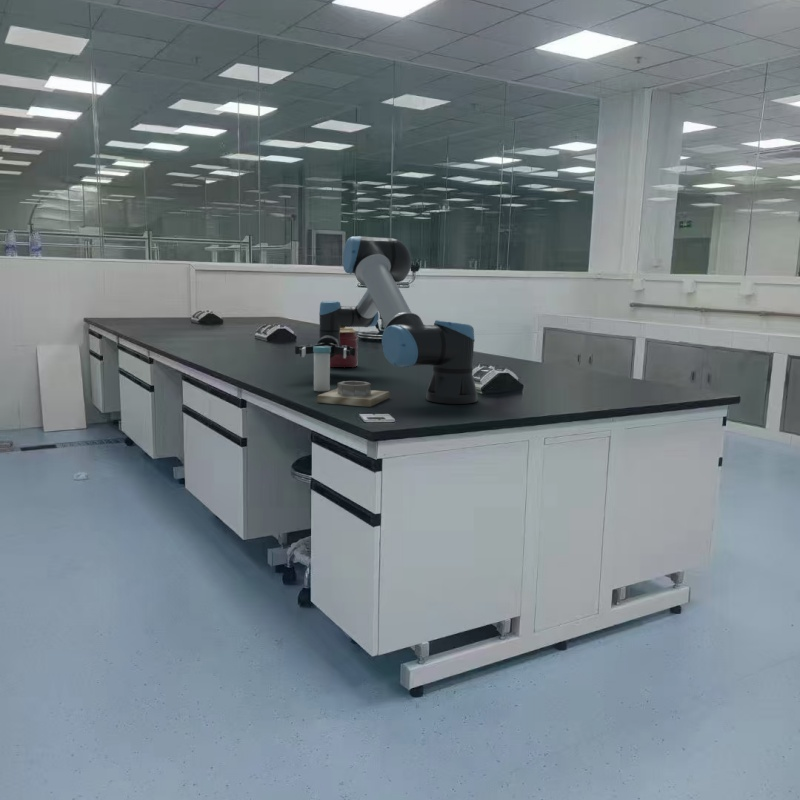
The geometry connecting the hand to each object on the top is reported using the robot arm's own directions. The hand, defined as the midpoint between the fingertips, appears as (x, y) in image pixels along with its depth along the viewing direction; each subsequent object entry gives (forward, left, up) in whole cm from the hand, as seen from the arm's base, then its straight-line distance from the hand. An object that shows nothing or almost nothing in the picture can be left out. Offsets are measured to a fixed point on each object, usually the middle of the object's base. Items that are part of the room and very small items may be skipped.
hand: (323, 353), depth 231 cm
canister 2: (+15, -51, -11) cm, 54 cm away
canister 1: (-3, +9, -10) cm, 14 cm away
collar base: (-19, +22, -10) cm, 31 cm away
